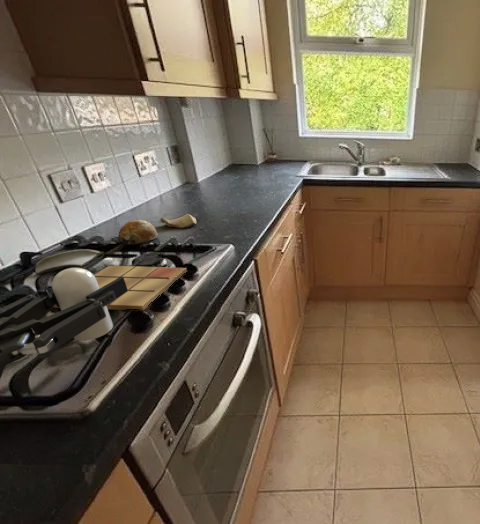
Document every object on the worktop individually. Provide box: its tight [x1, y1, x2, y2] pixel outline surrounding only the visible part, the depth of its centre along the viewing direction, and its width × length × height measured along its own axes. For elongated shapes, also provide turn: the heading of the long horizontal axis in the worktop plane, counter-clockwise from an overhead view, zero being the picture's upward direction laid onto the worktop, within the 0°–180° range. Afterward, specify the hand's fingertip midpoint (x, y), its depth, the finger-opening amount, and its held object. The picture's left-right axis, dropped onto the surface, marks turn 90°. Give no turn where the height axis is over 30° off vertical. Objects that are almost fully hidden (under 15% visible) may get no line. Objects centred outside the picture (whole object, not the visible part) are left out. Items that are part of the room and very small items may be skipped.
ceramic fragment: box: [34, 249, 102, 275], centre depth 86 cm, size 14×5×4 cm, turn 142°
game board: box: [54, 265, 188, 311], centre depth 78 cm, size 20×18×1 cm
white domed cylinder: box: [51, 267, 114, 342], centre depth 54 cm, size 5×5×12 cm
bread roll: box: [117, 219, 159, 245], centre depth 104 cm, size 10×10×8 cm
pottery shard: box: [159, 213, 198, 229], centre depth 118 cm, size 11×4×10 cm
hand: (107, 282), depth 58 cm, fingers closed on white domed cylinder, 5 cm apart
